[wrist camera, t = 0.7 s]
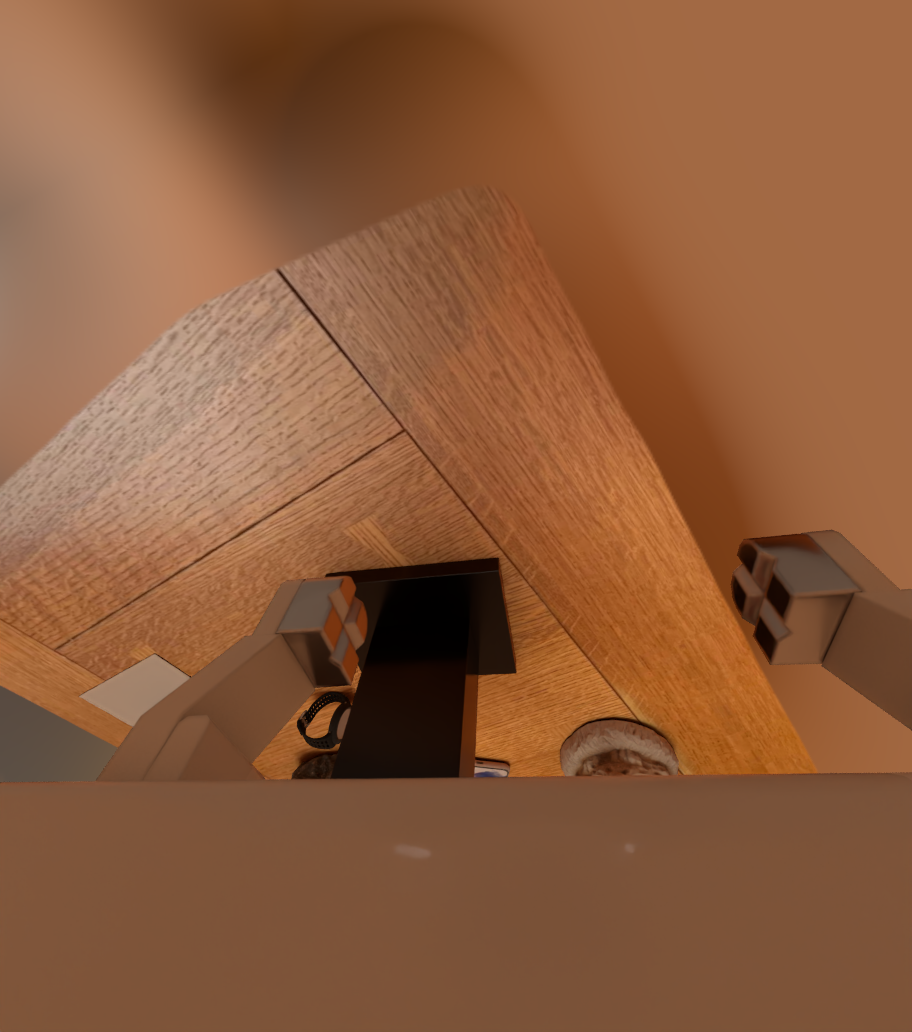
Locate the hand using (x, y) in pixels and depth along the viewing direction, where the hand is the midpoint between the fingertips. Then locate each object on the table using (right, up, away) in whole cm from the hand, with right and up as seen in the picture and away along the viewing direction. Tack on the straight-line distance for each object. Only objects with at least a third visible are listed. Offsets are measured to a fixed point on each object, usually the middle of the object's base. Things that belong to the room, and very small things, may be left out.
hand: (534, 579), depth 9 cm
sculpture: (+16, -25, +39) cm, 49 cm away
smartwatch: (-14, -17, +36) cm, 42 cm away
